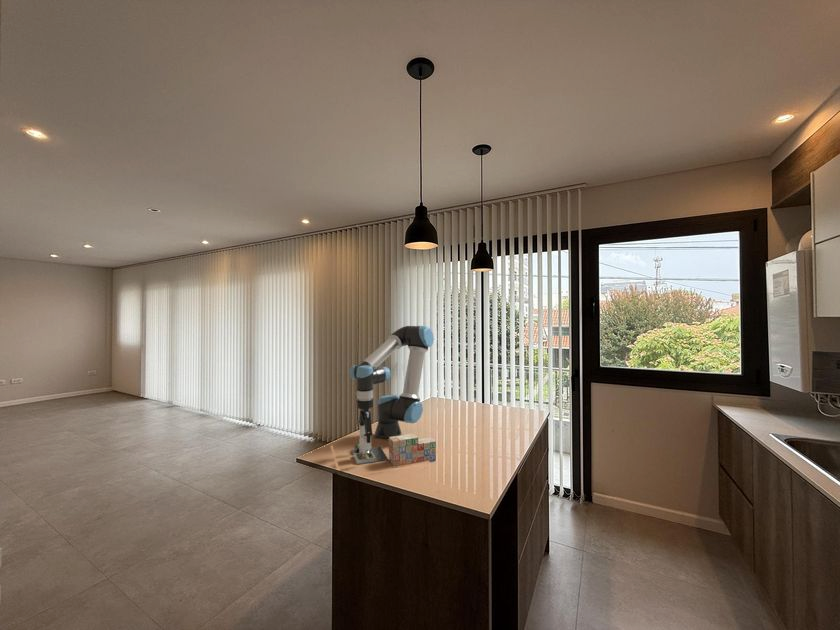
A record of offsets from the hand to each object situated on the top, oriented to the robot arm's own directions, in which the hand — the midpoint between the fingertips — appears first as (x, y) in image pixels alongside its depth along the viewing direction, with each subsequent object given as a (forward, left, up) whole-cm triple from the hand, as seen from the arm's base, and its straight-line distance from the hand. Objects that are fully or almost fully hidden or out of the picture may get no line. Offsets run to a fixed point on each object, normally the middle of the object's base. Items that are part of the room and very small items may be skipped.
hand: (365, 444), depth 159 cm
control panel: (-3, -4, -8) cm, 9 cm away
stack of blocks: (-21, +8, -8) cm, 24 cm away
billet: (0, 0, -7) cm, 7 cm away
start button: (0, -9, -6) cm, 11 cm away
